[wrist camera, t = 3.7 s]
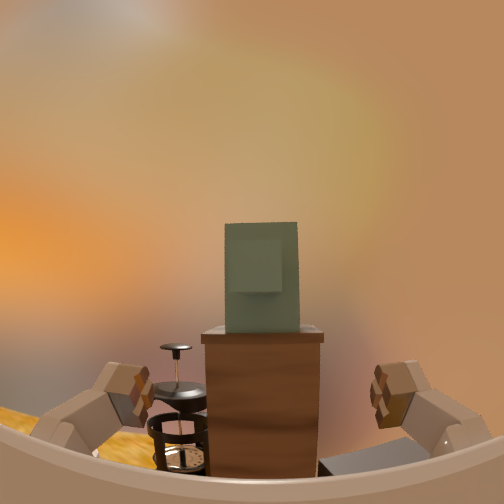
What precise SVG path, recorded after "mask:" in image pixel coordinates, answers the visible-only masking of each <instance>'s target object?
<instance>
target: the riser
mask: <svg viewBox="0 0 504 504" xmlns="http://www.w3.org/2000/svg"><path fill="white" fill-rule="evenodd" d="M430 455H431V454H430V453H429V452H428V451H426V450H425V449H424V448H423V447H422V446H421V445H420V444H419V443H417V442H415V441H413V440H411V439H409V438H408V437H403V438H400V439H397V440H394V441H391V442H387V443H384V444H381V445H377V446H374V447H370V448H366V449H362V450H359V451H355V452H351V453H346V454H342V455H338V456H333V457H329V458H324V459H319V465H318V477H326V476H336V475H345V474H354V473H361V472H368V471H374V470H380V469H386V468H391V467H396V466H401V465H406V464H410V463H415V462H419V461H423V460H427V459H428V458H429V456H430Z"/></svg>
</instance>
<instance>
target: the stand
mask: <svg viewBox="0 0 504 504" xmlns="http://www.w3.org/2000/svg"><path fill="white" fill-rule="evenodd" d="M323 342H324V333H323V332H322V331H321V330H319V329H317V328H316V327H314V326H313V325H300V332H290V333H225V326H218V327H215V328H213V329H211V330H209V331H207V332H204V333H202V334H201V344H205V370H206V399H207V420H208V439H209V456H210V470H211V477H219V478H237V479H296V478H313V477H315V472H316V458H317V457H316V456H317V440H318V418H319V417H318V416H319V385H320V384H319V383H320V343H323Z"/></svg>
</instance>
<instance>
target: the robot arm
mask: <svg viewBox="0 0 504 504" xmlns="http://www.w3.org/2000/svg"><path fill="white" fill-rule="evenodd" d="M374 374H375V377H376V379H375V380H374V381H373V382H372V384H371V389H370V398H371V403H372V406H373V407H374V408H375V409H377V411H376V414H375V416H376V420H377V423H378V427H379V429H384V428H391V427H398V426H401V428H402V429H403V430H404V431H406V432H407V433H408V434H409V435H410V436H411V437H412V438H413V439H414V440H415V441H417V442H418V443H419V444H420V445H421V446H422V447H423V448H424V449H425V450H426V451H428V452H429V453H430V454H431V455H430V456H429V458H428V459H427V460H423V461H419V462H415V463H410V464H406V465H401V466H396V467H391V468H386V469H380V470H374V471H368V472H361V473H354V474H345V475H336V476H326V477H313V478H296V479H237V478H219V477H207V476H196V475H187V474H179V473H172V472H165V471H159V470H153V469H147V468H142V467H137V466H132V465H127V464H122V463H118V462H113V461H109V460H105V459H101V458H97V457H94V456H93V454H92V452H93V451H94V450H96V449H97V448H98V447H99V446H100V445H102V444H103V443H104V442H105V441H106V440H108V439H109V438H110V437H111V436H112V435H114V434H115V433H116V432H117V431H118V430H119V429H121V428H122V427H123V426H130V427H138V428H144V426H145V423H146V420H147V418H148V413H147V410H148V409H149V408H150V407H152V404H153V401H154V387H153V384H152V382H151V381H150V380H149V379H148V377H149V371H148V368H147V367H145V366H138V365H131V364H124V363H115V362H109V363H107V364H106V366H105V367H104V369H103V371H102V372H101V374H100V376H99V377H98V379H97V381H96V382H95V384H94V386H93V388H92V389H87V390H85V391H84V392H82V393H80V394H78V395H77V396H75V397H73V398H71V399H70V400H68V401H66V402H64V403H62V404H61V405H59V406H57V407H55V408H54V409H52V410H50V411H48V412H46V413H44V414H43V415H42V416H41V418H40V419H39V421H38V423H37V424H36V426H35V427H34V429H33V431H32V432H31V434H30V435H27V434H24V433H22V432H19V431H17V430H14V429H12V428H10V427H7V426H5V425H3V424H1V423H0V504H504V435H502V436H499V437H497V438H494V439H493V437H492V435H491V433H490V431H489V429H488V427H487V426H486V424H485V422H484V420H483V418H482V416H481V415H479V414H477V413H476V412H474V411H472V410H471V409H469V408H467V407H466V406H464V405H462V404H460V403H459V402H457V401H456V400H454V399H452V398H450V397H449V396H447V395H446V394H444V393H442V392H440V391H439V390H437V389H432V388H431V386H430V384H429V382H428V380H427V378H426V377H425V375H424V372H423V371H422V369H421V367H420V365H419V363H418V361H416V360H410V361H404V362H397V363H390V364H381V365H377V366H376V369H375V372H374ZM122 425H123V426H122Z"/></svg>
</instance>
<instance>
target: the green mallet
mask: <svg viewBox="0 0 504 504" xmlns="http://www.w3.org/2000/svg"><path fill="white" fill-rule="evenodd" d="M299 306H300V305H299V262H298V232H297V222H276V223H275V222H273V223H272V222H271V223H234V224H225V333H290V332H300V307H299Z"/></svg>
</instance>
